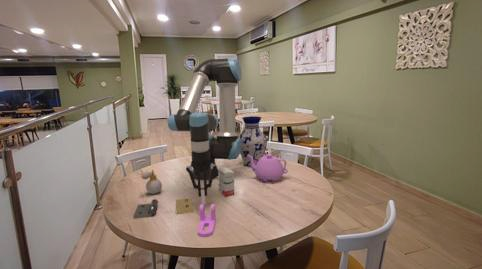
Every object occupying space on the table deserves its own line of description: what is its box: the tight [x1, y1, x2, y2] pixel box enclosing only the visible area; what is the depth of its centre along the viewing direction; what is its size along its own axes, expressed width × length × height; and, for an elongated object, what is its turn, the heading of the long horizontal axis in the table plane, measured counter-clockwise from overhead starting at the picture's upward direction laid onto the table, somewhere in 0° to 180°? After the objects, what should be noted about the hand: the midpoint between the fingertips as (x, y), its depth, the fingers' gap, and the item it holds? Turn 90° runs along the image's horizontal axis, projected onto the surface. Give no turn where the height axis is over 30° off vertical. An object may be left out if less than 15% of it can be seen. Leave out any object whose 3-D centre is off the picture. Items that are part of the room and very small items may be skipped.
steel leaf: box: [132, 199, 159, 219], centre depth 117 cm, size 8×10×3 cm
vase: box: [238, 116, 268, 167], centre depth 175 cm, size 19×19×30 cm
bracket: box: [197, 203, 217, 238], centre depth 103 cm, size 13×6×7 cm, turn 0°
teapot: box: [247, 153, 289, 183], centre depth 150 cm, size 22×16×14 cm
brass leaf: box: [175, 197, 195, 215], centre depth 119 cm, size 7×10×3 cm
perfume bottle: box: [141, 169, 163, 195], centre depth 134 cm, size 8×10×12 cm
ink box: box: [217, 166, 235, 198], centre depth 133 cm, size 8×5×12 cm, turn 26°
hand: (203, 202), depth 120 cm, fingers closed
